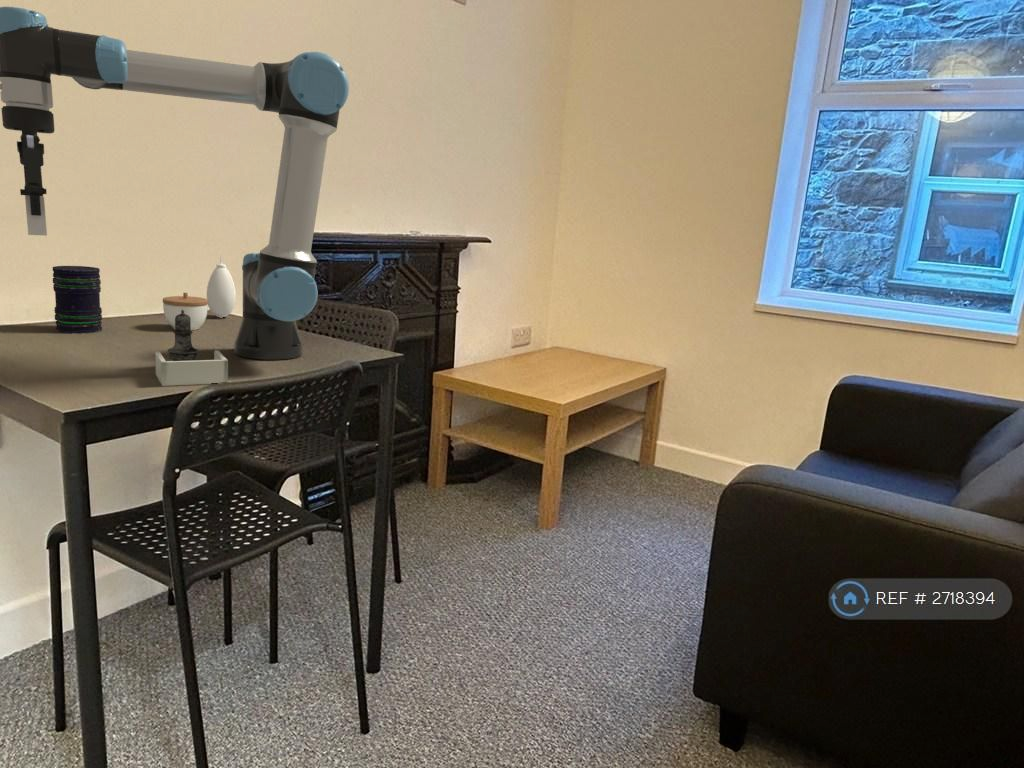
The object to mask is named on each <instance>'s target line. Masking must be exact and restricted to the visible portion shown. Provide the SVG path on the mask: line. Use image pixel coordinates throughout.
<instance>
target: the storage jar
mask: <svg viewBox="0 0 1024 768" xmlns="http://www.w3.org/2000/svg"><path fill="white" fill-rule="evenodd" d="M52 272H53V274H52V277H53V278H52V284H53V287H52V289H53V291H54V295H55V298H54V299H55V307H54V310H53V311H54V321H55V324H56V327H55V330H56V332H58V333H62V332H63V334H72V333H74V334H75V333H76V334H77V335H78V334H79V335H81V334H82V333H85V334H95V333H94V332H96V333H100V332H102V331H103V327H102V324H103V322H102V320H103V310H102V307H101V300H100V299H101V298H100V296H101V295H100V293H101V290H102V288H101V287H102V286H101V284H102V282H101V281H102V279H101V275H100V272H101V271H100V268H99V267H94V266H86V265H85V266H83V265H56V266H52ZM99 331H100V332H99Z"/></svg>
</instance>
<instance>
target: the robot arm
mask: <svg viewBox="0 0 1024 768" xmlns="http://www.w3.org/2000/svg"><path fill="white" fill-rule="evenodd" d="M51 75H54V76H62V77H67V78H72V79H73V80H74V81H75V82H76V83H77V84H78V85H79V86H81V87H83V88H86V89H89V90H101V89H106V90H107V89H109V90H116V91H119V90H120V91H127V92H135V93H136V92H137V93H145V94H153V95H154V94H155V95H165V96H173V97H181V98H189V99H190V98H191V99H199V100H200V99H201V100H209V101H217V102H225V103H226V102H228V103H236V104H244V105H253V106H255V107H256V109H258V110H259V111H262V112H271V113H277V114H278V119H279V120H280V121H281V124H283V126H284V131H283V138H282V139H283V140H282V147H281V155H280V161H279V169H278V176H277V183H276V189H275V190H276V191H275V198H274V204H273V212H272V218H271V219H272V220H271V225H270V226H271V227H270V233H269V240H268V244H267V245H266V246H265V247H263V248H262V249H261V250H260V251H259V252H258V253H254V252H250V253H246V254H245V255H244V256H243V259H242V265H241V270H242V319H241V323H240V325H239V329H238V331H237V335H236V338H235V341H234V351H233V352H234V354H235V355H236V356H240V357H243V358H248V359H253V360H254V359H255V360H268V361H271V360H272V361H275V360H276V361H277V360H288V359H295V358H298V357H301V356H302V355H303V342H302V339H301V335H300V333H299V329H298V326H297V322H296V321H299V320H301V319H303V318H305V317H306V316H308V315H309V314H310V313H311V312H312V311H313V309H315V306H316V304H317V302H318V297H319V296H318V295H319V292H318V287H317V281H316V280H315V275H316V269H317V264H318V260H317V259H316V258H315V256H314V255H313V254H312V245H313V238H314V234H315V225H316V219H317V214H318V207H319V206H318V205H319V199H320V193H321V192H320V191H321V185H322V178H323V172H324V166H325V165H324V164H325V159H326V153H327V152H326V151H327V146H328V145H327V144H328V140H329V137H330V136H331V135H333V134H334V133H336V132H337V131H338V130H337V129H338V124H339V117H340V116H339V115H340V110H341V109H342V108H343V107H344V105H345V104H346V102H347V100H348V97H349V93H350V92H349V91H350V87H349V84H350V83H349V79H348V76H347V74H346V72H345V71H344V68H343V67H342V65H341V64H340V63H339V62H338V60H336V59H334V58H333V57H332V56H330V55H328V54H326V53H323V52H319V51H309V52H308V51H307V52H302V53H300V54H298V55H296V56H295V57H294V58H293V59H291V60H289V61H285V62H278V63H276V62H273V63H272V62H271V63H268V62H262V61H259V62H257V63H256V64H255V65H253V66H251V65H244V64H235V63H231V62H230V63H228V62H222V61H216V60H215V61H213V60H206V59H200V58H197V59H196V58H192V57H186V56H185V57H184V56H183V57H182V56H177V55H167V54H162V53H155V52H154V53H153V52H152V53H151V52H148V51H147V52H146V51H138V50H131V49H127V46H126V43H125V42H124V41H123V40H121V39H118V38H114V37H109V36H106V35H103V34H101V35H98V34H91V33H84V32H78V31H72V30H64V29H59V28H54V27H51V26H49V24H48V21H47V18H46V16H45V15H44V14H43V13H41V12H38V11H36V10H31V9H30V10H29V9H27V8H21V7H16V6H15V7H14V6H0V101H1V102H2V103H3V104H5V105H3V106H2V107H0V108H1V117H2V118H1V120H2V126H3V128H4V129H6V130H11V131H17V132H18V131H19V132H21V135H20V140H19V141H18V140H17V141H16V149H17V153H19V163H20V164H21V166H23V173H24V187H23V188H24V189H23V188H20V189H19V190H20V191H19V193H20V196H24V200H25V202H24V203H25V210H26V212H25V214H26V224H27V234H28V236H45V237H46V236H47V235H48V233H47V221H46V217H47V216H46V206H45V196H44V195H47V192H48V191H47V188H44V187H43V176H42V167H43V166H44V165H45V163H44V162H45V161H44V154H45V144H44V143H41V138H40V137H39V135H38V133H41V134H49V135H50V134H54V132H55V120H54V119H55V115H54V113H53V112H52V111H50V109H52V108H53V107H54V98H53V97H54V96H53V85H52V80H51V79H52V78H51Z"/></svg>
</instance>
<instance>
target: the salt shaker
mask: <svg viewBox="0 0 1024 768" xmlns="http://www.w3.org/2000/svg"><path fill="white" fill-rule="evenodd" d="M181 312H182V313H181V314H179V315H177V316H176V317H175V329H174V331H173V332H172V333H173V334H174V345H173V347H171V348H168V349H167V352H168V353H169V355H168V356H169V357H170V359H171V361H196V358H197V357H198V352H199V349H198V348H196V347H194V346H193V344H192V334H193V330H191V322H190V317H189V316H188V315H186V314H184V310H182V311H181Z"/></svg>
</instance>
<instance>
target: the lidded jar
mask: <svg viewBox="0 0 1024 768" xmlns="http://www.w3.org/2000/svg"><path fill="white" fill-rule="evenodd" d="M182 295H183V296H182ZM182 295H175V296H174V295H173V296H166V297H163V298H162V303H163V309H162V310H163V315H164V318H165V320H166V322H167V323H168V324H169V325H170V326H171V327H172V329H173V330H175V317H176V316H177V315H179V314H181V313H182V312H181V311H182V310H184V314H186V315H188V316H189V317H190V322H191V331H197V329H198V330H199V329H200V327H202V325H204V323H205V322H206V319H207V316H208V309H209V306H208V300H207V298H204V297H198V296H188V292H183V293H182Z"/></svg>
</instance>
